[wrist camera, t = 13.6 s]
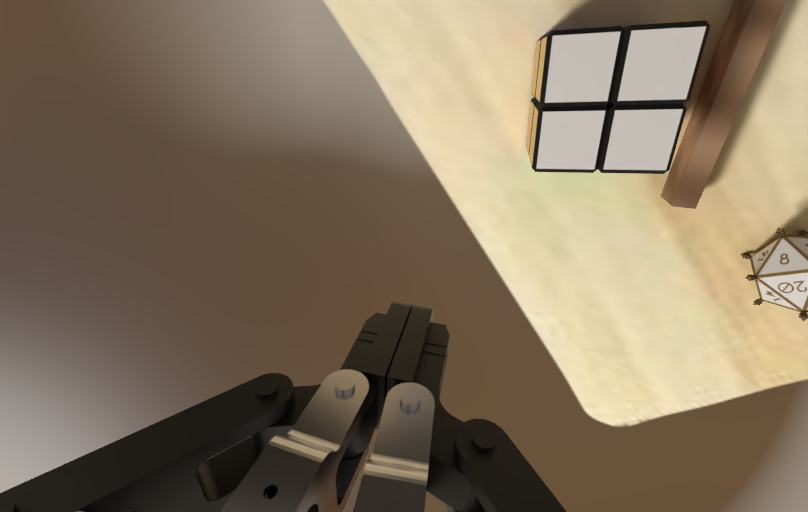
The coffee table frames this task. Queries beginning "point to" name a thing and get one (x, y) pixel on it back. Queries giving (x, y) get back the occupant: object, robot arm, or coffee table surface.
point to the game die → (782, 272)
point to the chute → (720, 98)
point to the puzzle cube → (612, 96)
